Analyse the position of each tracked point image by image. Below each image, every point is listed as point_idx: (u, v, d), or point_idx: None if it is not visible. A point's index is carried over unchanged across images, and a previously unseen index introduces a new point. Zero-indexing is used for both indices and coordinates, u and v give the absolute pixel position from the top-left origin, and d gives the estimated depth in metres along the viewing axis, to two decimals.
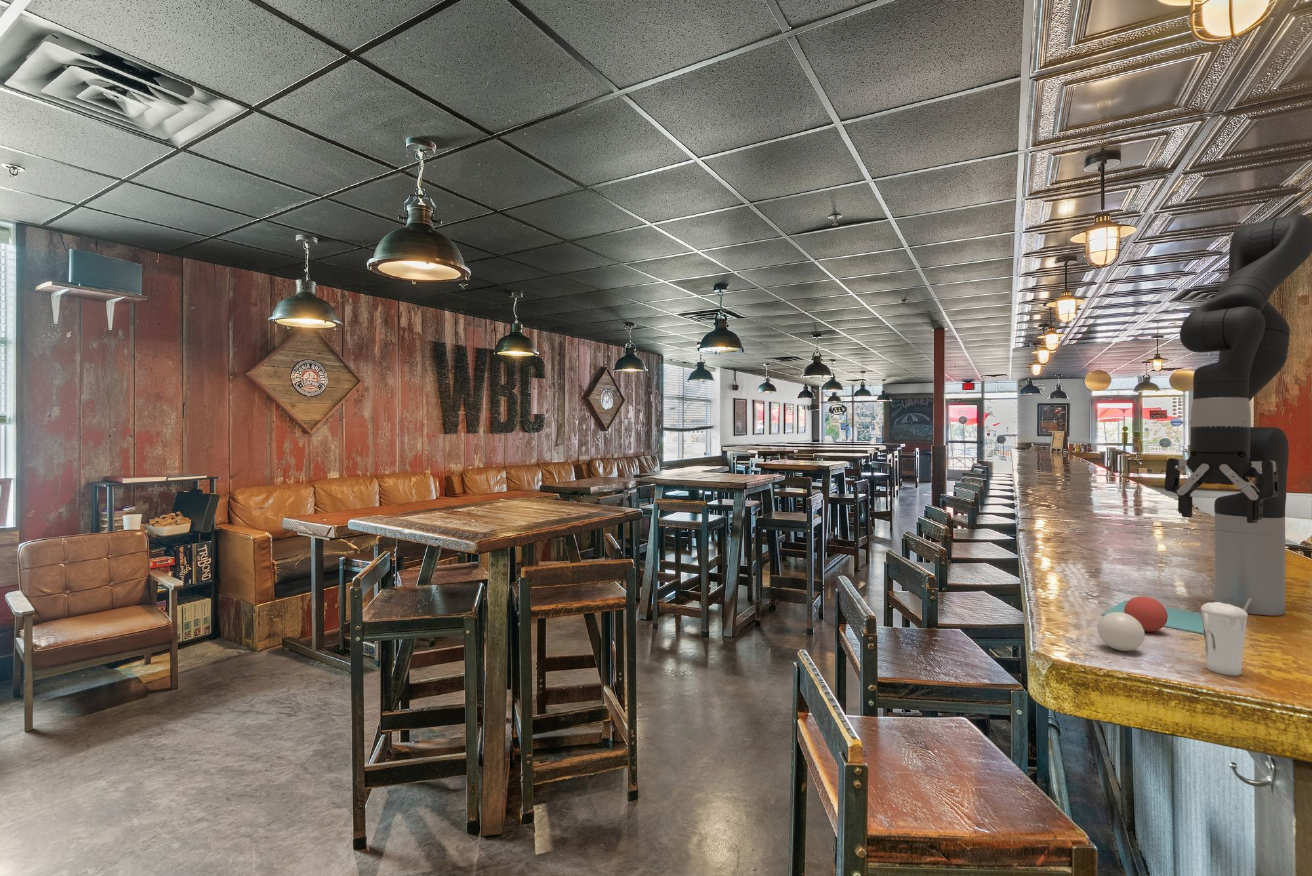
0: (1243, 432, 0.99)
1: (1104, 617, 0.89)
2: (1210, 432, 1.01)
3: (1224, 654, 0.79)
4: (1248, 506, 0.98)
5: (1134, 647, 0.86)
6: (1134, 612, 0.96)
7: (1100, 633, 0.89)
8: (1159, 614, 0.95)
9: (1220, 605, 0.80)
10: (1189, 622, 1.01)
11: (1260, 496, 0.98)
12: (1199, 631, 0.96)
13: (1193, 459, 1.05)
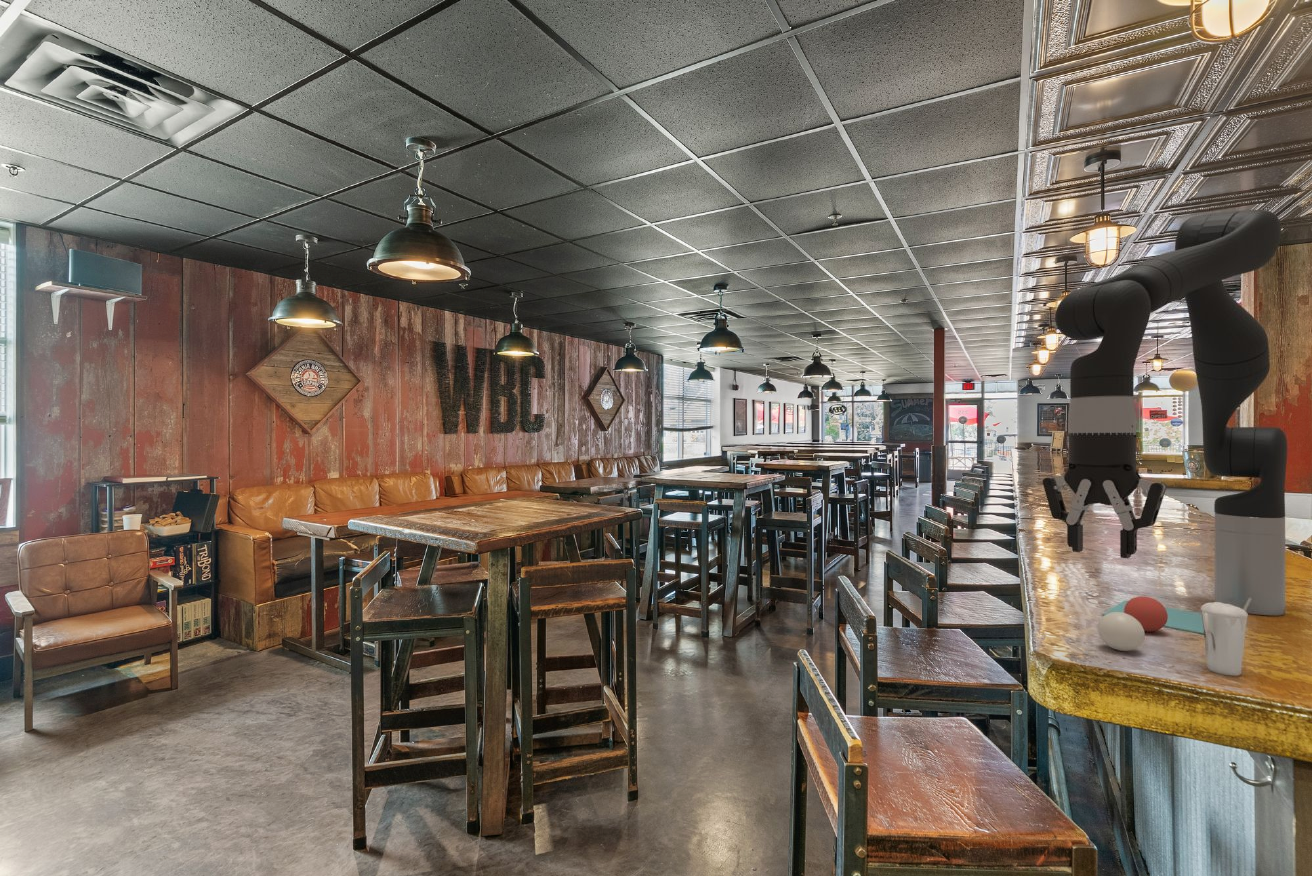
0: None
1: (1104, 617, 0.89)
2: None
3: (1224, 654, 0.79)
4: None
5: (1134, 647, 0.86)
6: (1134, 612, 0.96)
7: (1100, 633, 0.89)
8: (1159, 614, 0.95)
9: (1220, 605, 0.80)
10: (1189, 622, 1.01)
11: None
12: (1199, 631, 0.96)
13: None
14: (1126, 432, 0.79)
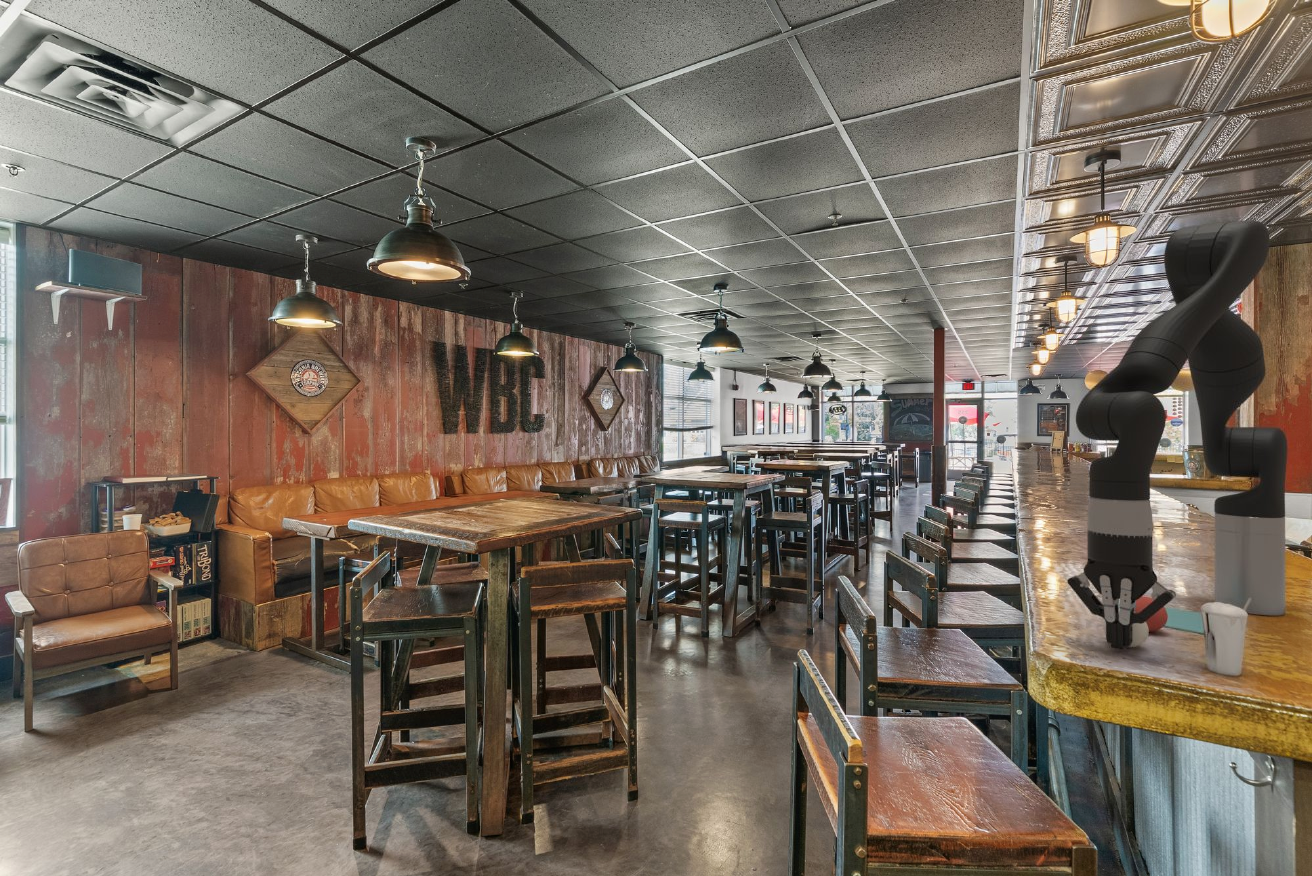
0: None
1: None
2: None
3: (1224, 654, 0.79)
4: None
5: (1137, 637, 0.87)
6: None
7: (1105, 622, 0.91)
8: (1159, 614, 0.95)
9: (1220, 605, 0.80)
10: (1189, 622, 1.01)
11: None
12: (1199, 631, 0.96)
13: None
14: (1143, 535, 0.84)
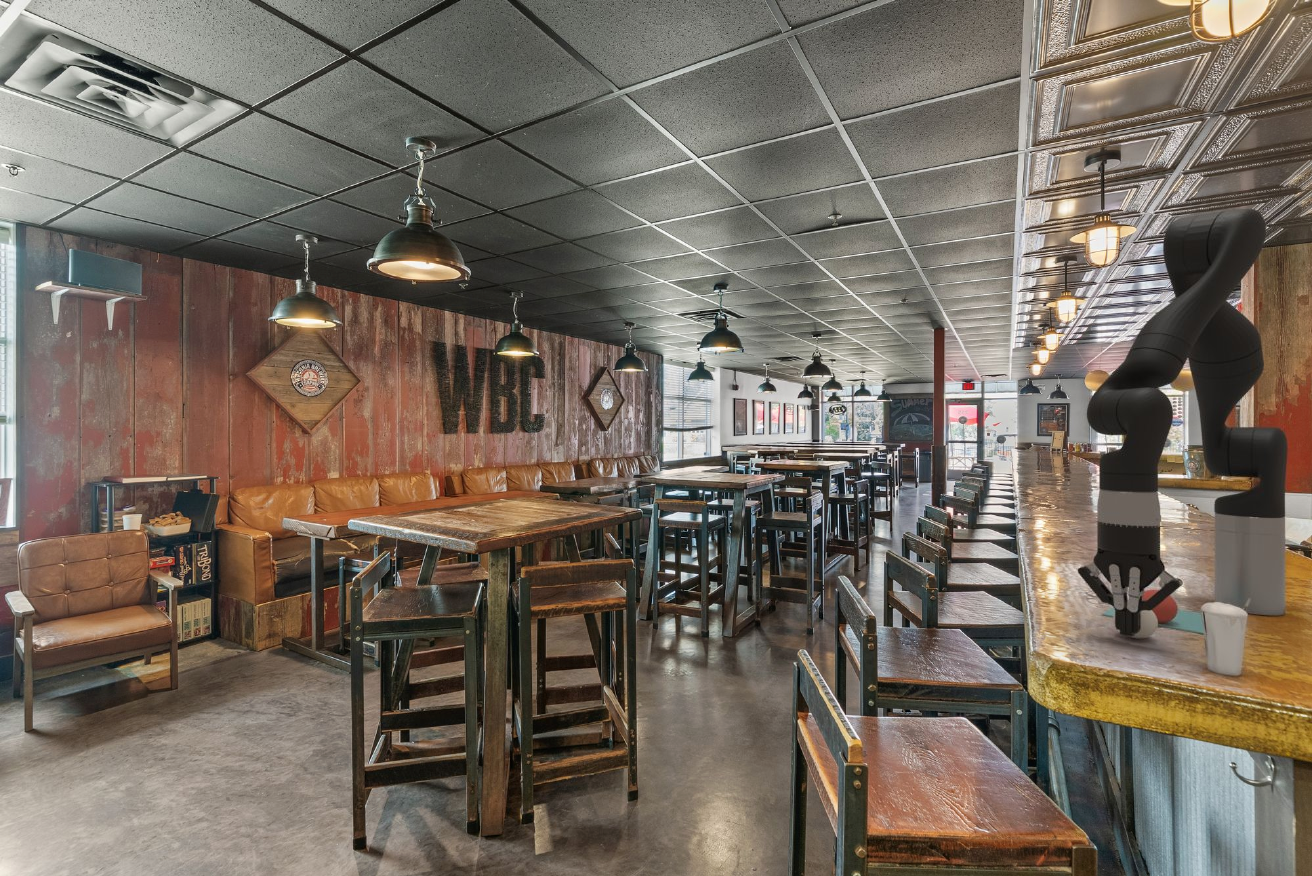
0: None
1: None
2: None
3: (1224, 654, 0.79)
4: None
5: None
6: None
7: None
8: None
9: (1220, 605, 0.80)
10: (1189, 622, 1.01)
11: None
12: (1199, 631, 0.96)
13: None
14: (1151, 525, 0.87)
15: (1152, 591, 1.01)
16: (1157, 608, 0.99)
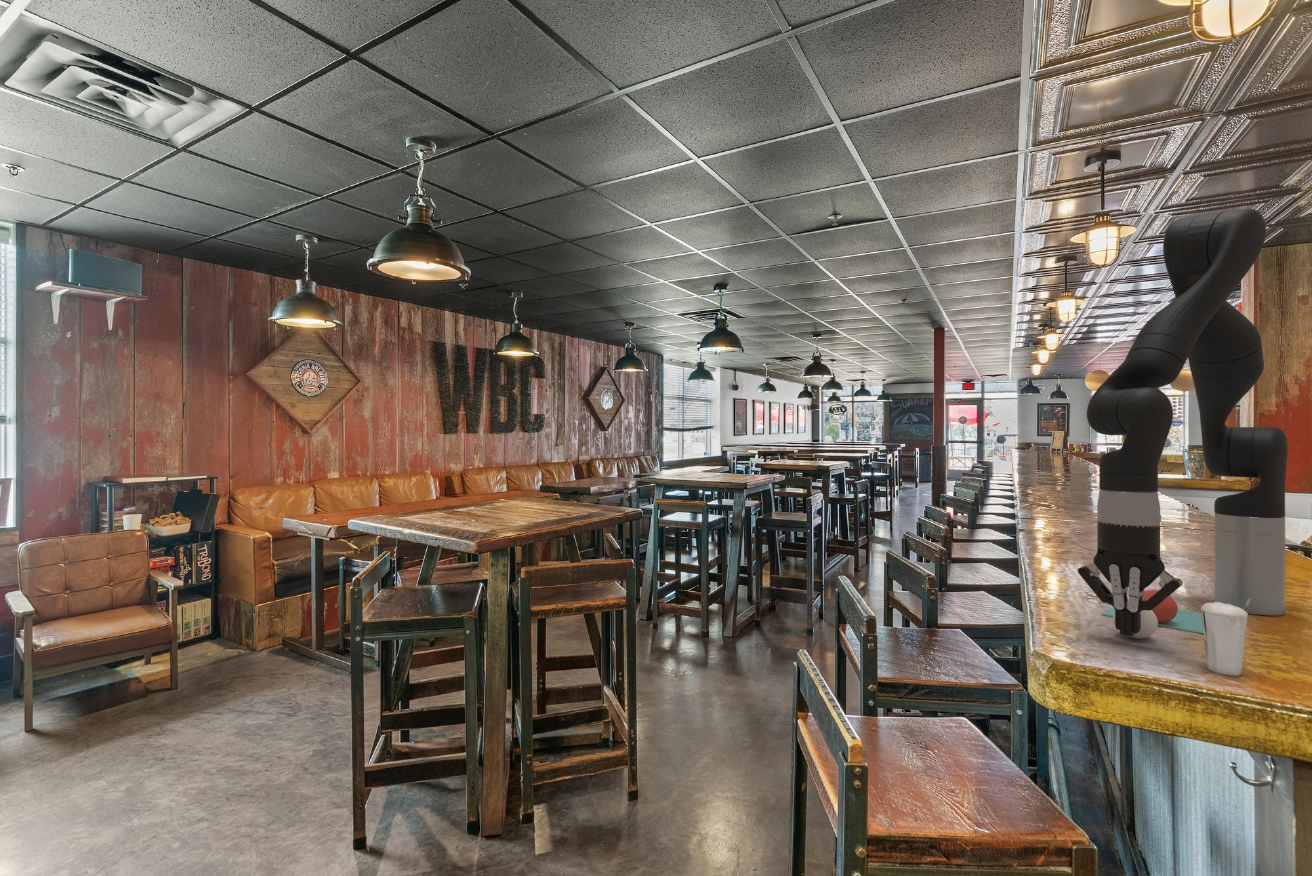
0: None
1: None
2: None
3: (1224, 654, 0.79)
4: None
5: None
6: None
7: None
8: None
9: (1220, 605, 0.80)
10: (1189, 622, 1.01)
11: None
12: (1199, 631, 0.96)
13: None
14: (1151, 525, 0.87)
15: (1152, 591, 1.01)
16: (1157, 608, 0.99)
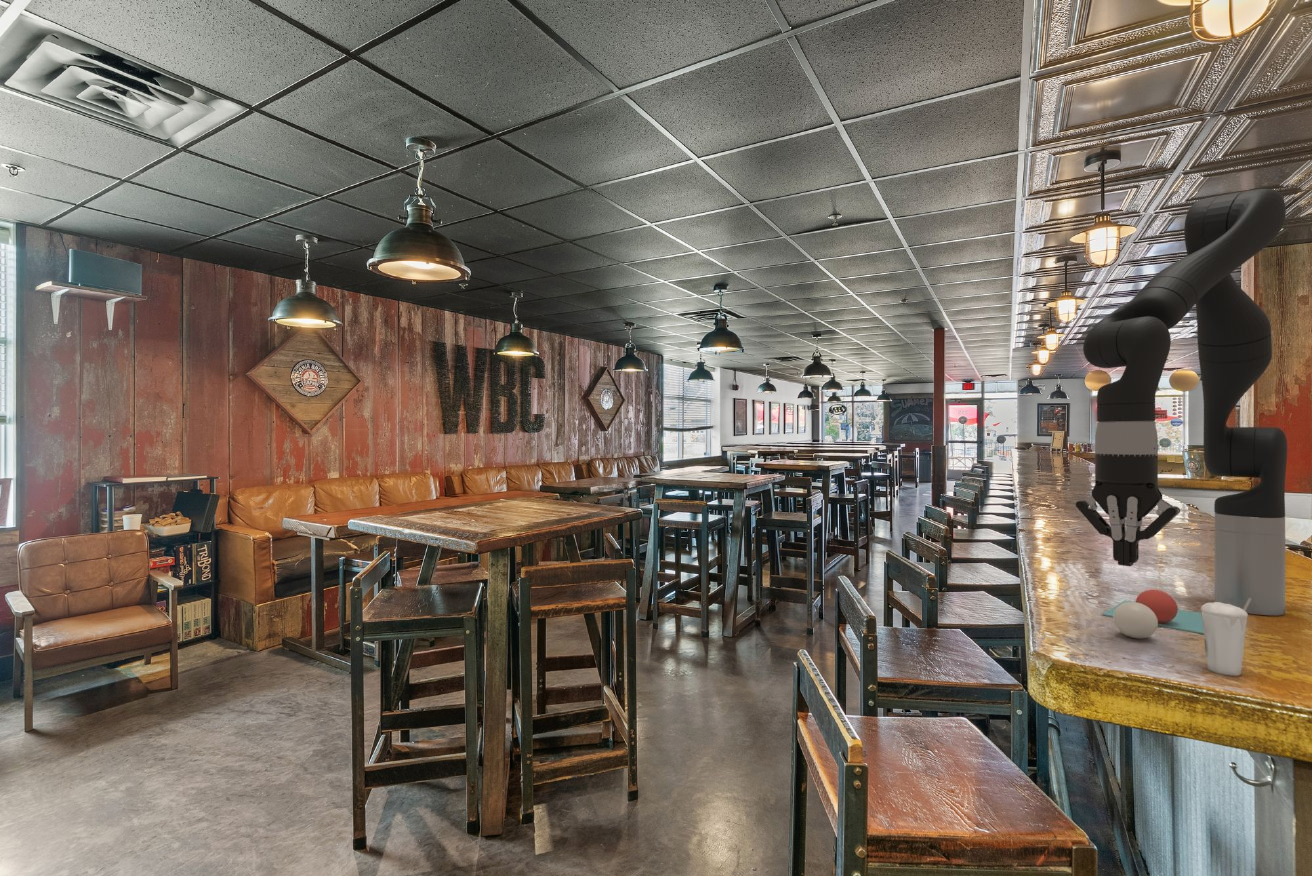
0: None
1: None
2: None
3: (1224, 654, 0.79)
4: None
5: (1150, 609, 0.93)
6: None
7: None
8: None
9: (1220, 605, 0.80)
10: (1189, 622, 1.01)
11: None
12: (1199, 631, 0.96)
13: None
14: (1148, 454, 0.88)
15: (1152, 591, 1.01)
16: (1157, 608, 0.99)
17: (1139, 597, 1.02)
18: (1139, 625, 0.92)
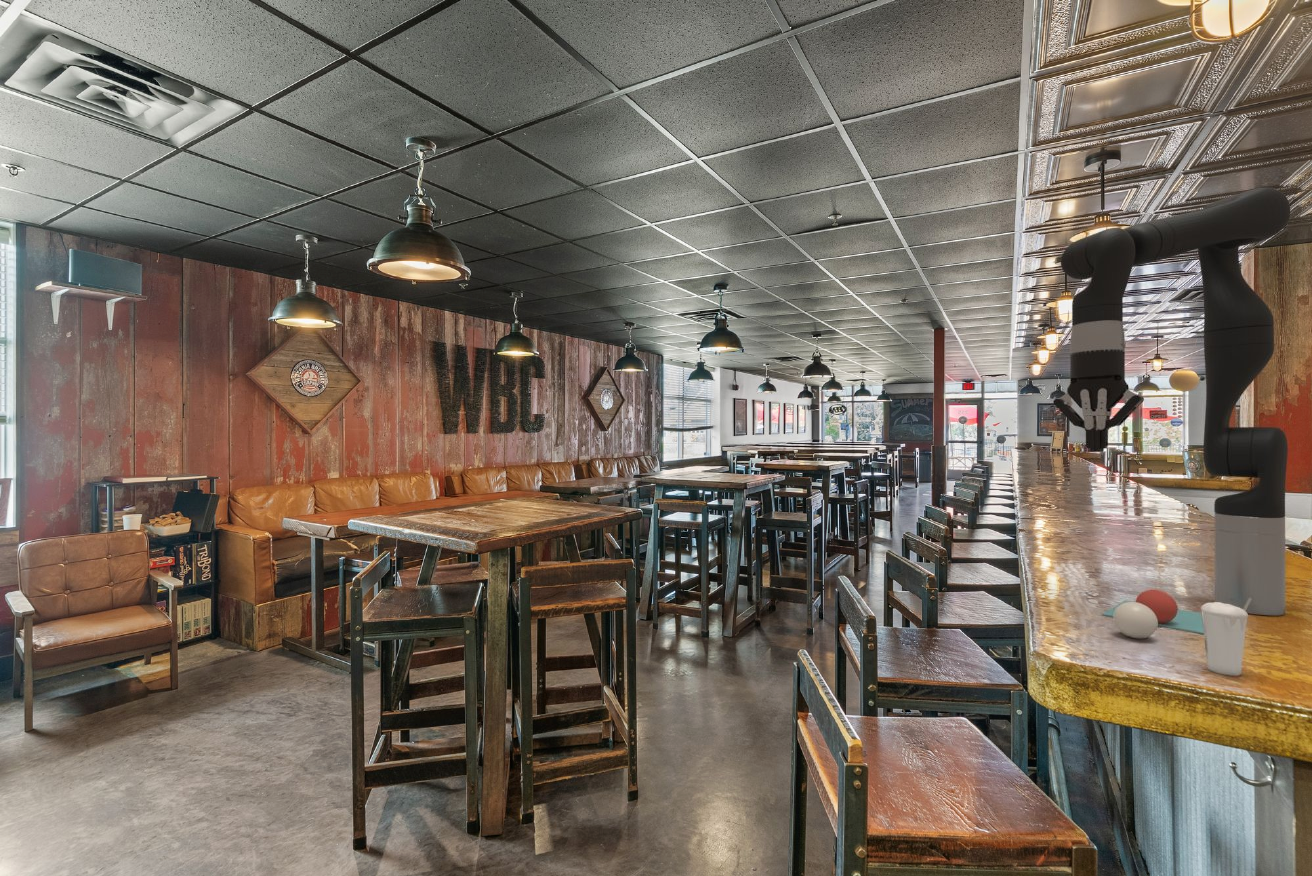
0: None
1: None
2: None
3: (1224, 654, 0.79)
4: None
5: (1150, 609, 0.93)
6: None
7: None
8: None
9: (1220, 605, 0.80)
10: (1189, 622, 1.01)
11: None
12: (1199, 631, 0.96)
13: None
14: (1116, 349, 0.99)
15: (1152, 591, 1.01)
16: (1157, 608, 0.99)
17: (1139, 597, 1.02)
18: (1139, 625, 0.92)
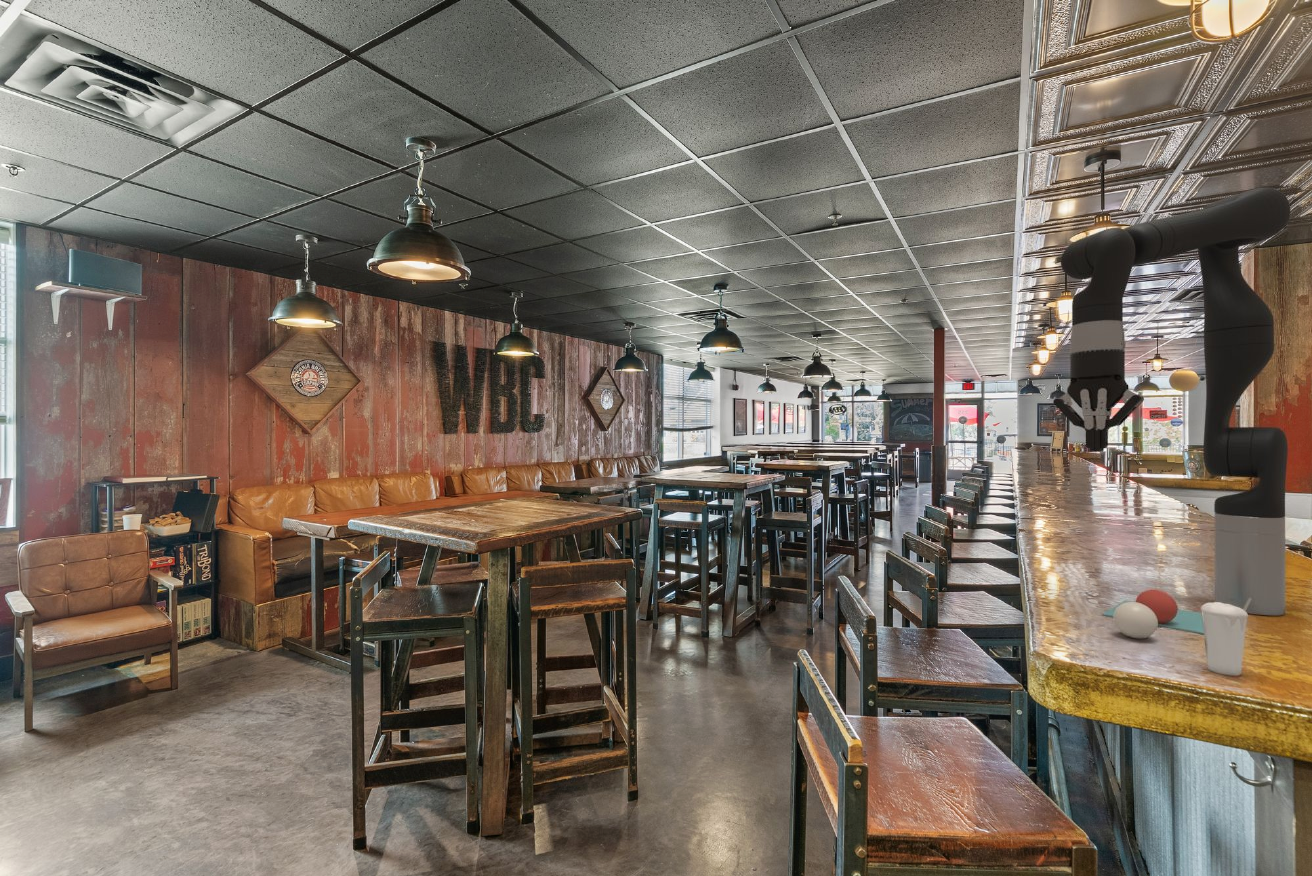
0: None
1: None
2: None
3: (1224, 654, 0.79)
4: None
5: (1150, 609, 0.93)
6: None
7: None
8: None
9: (1220, 605, 0.80)
10: (1189, 622, 1.01)
11: None
12: (1199, 631, 0.96)
13: None
14: (1116, 349, 0.99)
15: (1152, 591, 1.01)
16: (1157, 608, 0.99)
17: (1139, 597, 1.02)
18: (1139, 625, 0.92)
